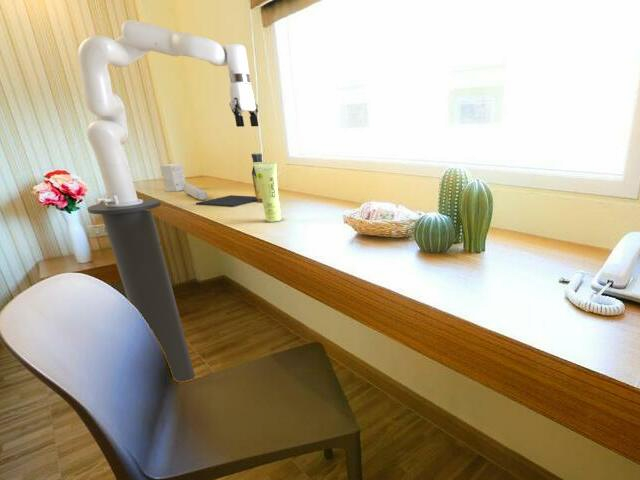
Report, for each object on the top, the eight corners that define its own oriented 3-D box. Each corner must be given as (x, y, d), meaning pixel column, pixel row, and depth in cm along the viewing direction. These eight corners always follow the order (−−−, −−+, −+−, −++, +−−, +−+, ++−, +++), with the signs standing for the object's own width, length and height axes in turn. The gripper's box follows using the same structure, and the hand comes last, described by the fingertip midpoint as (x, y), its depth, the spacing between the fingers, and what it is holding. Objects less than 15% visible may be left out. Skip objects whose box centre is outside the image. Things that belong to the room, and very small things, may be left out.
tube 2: (268, 223, 131) (259, 162, 124) (261, 221, 134) (252, 161, 127) (284, 220, 135) (276, 161, 127) (277, 218, 138) (268, 160, 131)
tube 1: (209, 190, 175) (195, 184, 193) (196, 188, 171) (183, 182, 189) (207, 202, 176) (194, 195, 194) (194, 200, 172) (182, 193, 190)
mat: (232, 206, 160) (232, 205, 159) (195, 204, 166) (195, 202, 166) (265, 198, 177) (265, 197, 177) (231, 196, 184) (230, 195, 183)
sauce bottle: (258, 200, 173) (251, 153, 166) (273, 199, 174) (266, 152, 166) (254, 202, 167) (246, 154, 160) (269, 202, 168) (262, 153, 160)
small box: (177, 189, 210) (171, 163, 205) (187, 189, 208) (182, 163, 204) (165, 191, 202) (159, 165, 197) (176, 191, 201) (170, 165, 196)
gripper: (245, 82, 164) (252, 126, 170) (217, 78, 148) (226, 126, 155) (261, 81, 162) (267, 126, 169) (234, 77, 147) (242, 126, 153)
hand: (247, 126), depth 162 cm, fingers open, 9 cm apart
